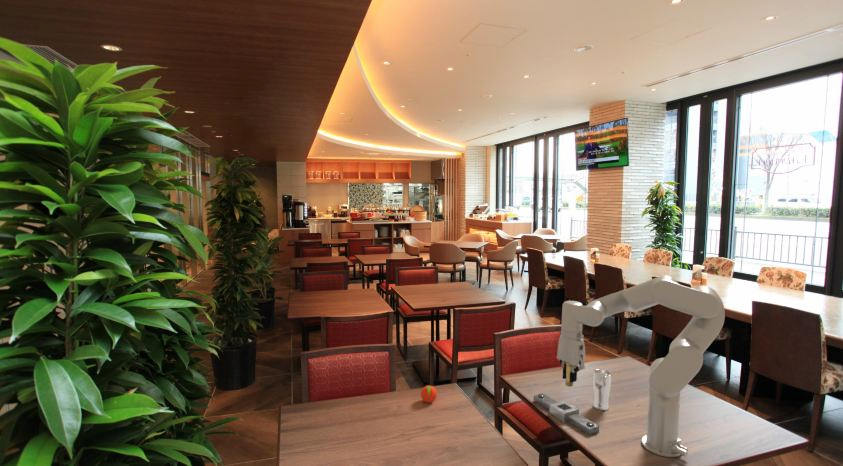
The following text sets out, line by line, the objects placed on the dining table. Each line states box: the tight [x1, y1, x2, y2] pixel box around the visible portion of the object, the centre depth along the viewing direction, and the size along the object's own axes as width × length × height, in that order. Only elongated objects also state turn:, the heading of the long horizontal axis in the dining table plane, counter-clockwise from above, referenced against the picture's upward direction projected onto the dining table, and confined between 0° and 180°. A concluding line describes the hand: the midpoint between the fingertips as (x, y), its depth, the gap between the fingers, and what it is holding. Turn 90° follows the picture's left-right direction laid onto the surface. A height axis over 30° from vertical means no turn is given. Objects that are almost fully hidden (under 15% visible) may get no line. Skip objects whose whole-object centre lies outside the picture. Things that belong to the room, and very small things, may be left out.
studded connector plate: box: [533, 393, 600, 436], centre depth 174 cm, size 30×8×4 cm, turn 27°
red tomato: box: [420, 385, 438, 404], centre depth 185 cm, size 8×7×7 cm
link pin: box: [564, 362, 574, 388], centre depth 167 cm, size 3×3×9 cm
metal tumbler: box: [592, 368, 612, 411], centre depth 181 cm, size 7×7×15 cm
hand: (569, 379), depth 167 cm, fingers closed on link pin, 2 cm apart
